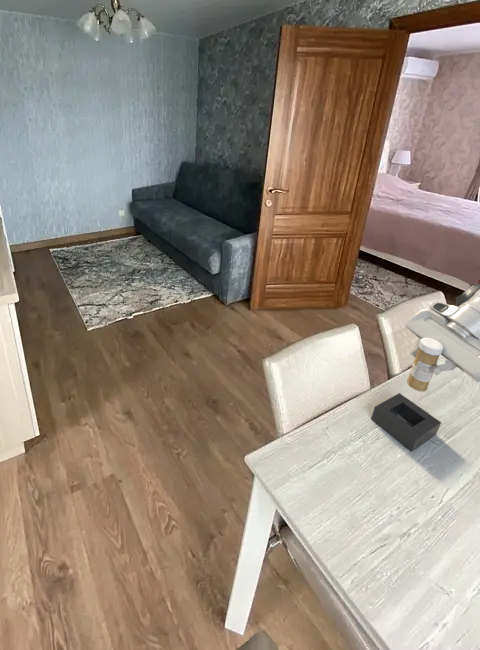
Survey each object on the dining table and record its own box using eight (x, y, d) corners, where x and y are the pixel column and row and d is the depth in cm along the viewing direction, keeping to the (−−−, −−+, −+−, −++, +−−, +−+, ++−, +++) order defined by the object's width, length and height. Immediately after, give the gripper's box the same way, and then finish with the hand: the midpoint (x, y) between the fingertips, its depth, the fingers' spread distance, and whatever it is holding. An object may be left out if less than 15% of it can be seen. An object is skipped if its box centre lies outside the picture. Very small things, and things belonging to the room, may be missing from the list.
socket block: (395, 404, 100) (399, 392, 98) (436, 434, 91) (441, 422, 89) (370, 419, 95) (374, 406, 93) (411, 452, 86) (416, 439, 84)
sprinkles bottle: (409, 376, 91) (423, 334, 85) (429, 386, 87) (445, 343, 82) (403, 385, 88) (418, 342, 83) (424, 395, 85) (441, 351, 79)
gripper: (520, 362, 75) (467, 402, 77) (437, 310, 93) (396, 343, 95) (511, 348, 72) (457, 390, 74) (428, 297, 91) (386, 332, 93)
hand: (422, 363), depth 85 cm, fingers closed on sprinkles bottle, 4 cm apart
